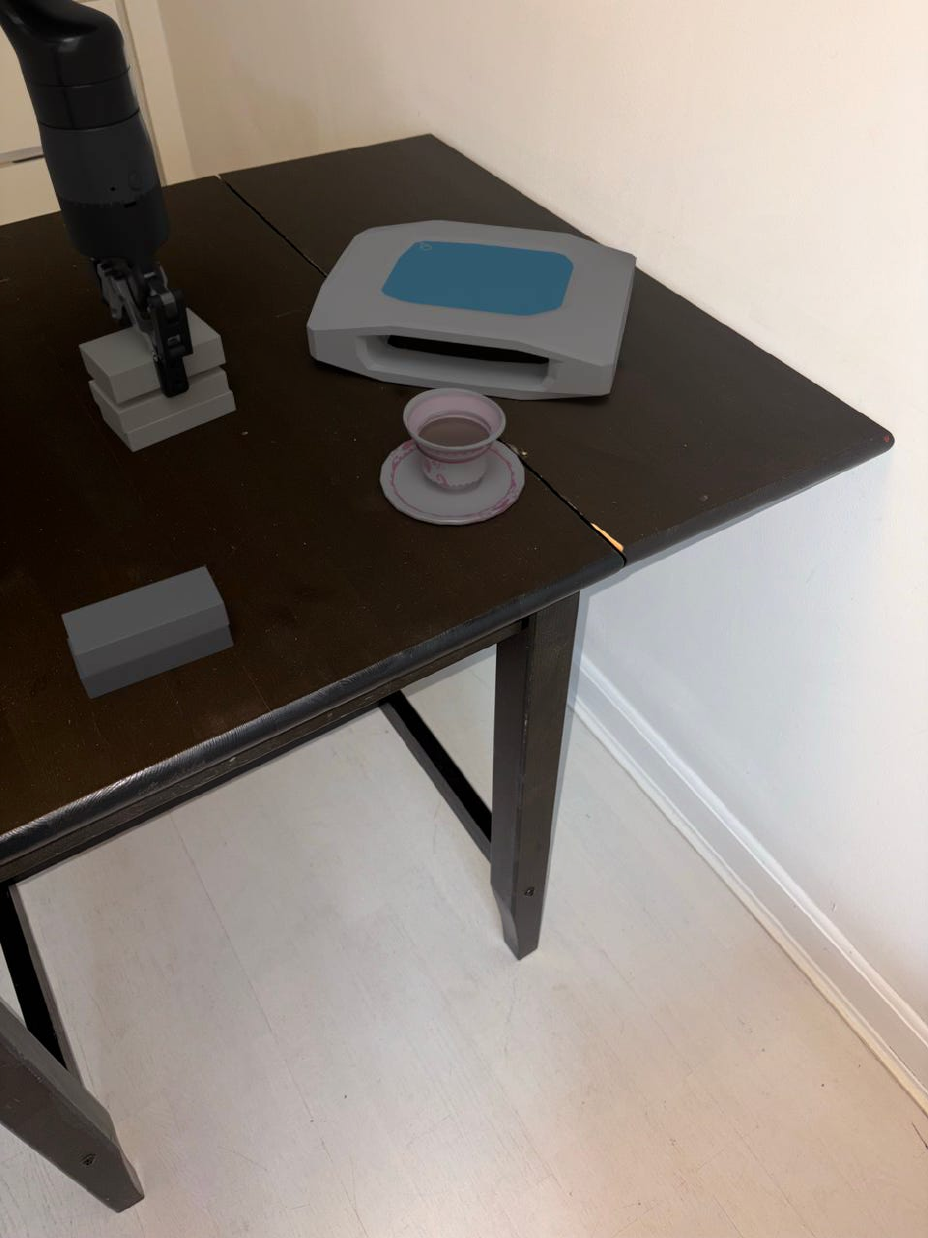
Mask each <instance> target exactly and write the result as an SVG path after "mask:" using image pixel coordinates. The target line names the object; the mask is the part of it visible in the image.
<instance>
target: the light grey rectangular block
mask: <svg viewBox="0 0 928 1238" xmlns="http://www.w3.org/2000/svg"><path fill="white" fill-rule="evenodd" d="M186 312H187V317H188V323H189V329H190V335H191V341H192V347H193V354H191V355H189V356H185V357H182V359H183V363H184V367H185V371H186V375H187V377H189V376H192V375H195V374H197V373H200V372H203V371H205V370H208V369H210V368H213V367H216V366H221V365H224V364H226V362H227V361H226V357H225V351H224V348H223V346H224V345H223V343H222V338H221V337H222V336H221V335H220V334H219V333H218V332H216V330H214V329H213V328H212V327H211V326H209V325H208V324H207V323H206V322H205V321H204V320H203V319H201V317H199V316H198V315H197V314H196V313H195V312H194V311H192V310H191V309H190V308H189V307H186ZM153 334H154V331H153ZM154 336H155V335H154ZM168 340H170V338H169V339H168ZM78 347H79V350H80V353H81V356H82V359H83V360H82V361H83V363H84V366H85V369H86V371H87V374H89V375H90V376H91V377H92V378H93V380H94V379H95V380H96V381H97V383H98V384H99V385H100V386H101V387H102V388H103V389H104V390H105V391H106V392H107V393H108V394H109V395H110V396H111V398H112V399H113V400H114V401H115V402H116V403H117V404H118V403H121V402H123V401H126V400H129V399H131V398H134V397H137V396H139V395H142V394H145V393H147V392H150V391H152V390H155V389H158V388H160V383H159V379H158V376H157V372H156V368H155V365H154V361H153V358H152V356H151V353H150V349H149V347H148V345H147V342H146V340H145V337H144V335H143V334H142V333H138V332H136V331H135V329H134V327H130V328H127V329H124V330H121V331H120V330H118V331H116V332H113V333H109V334H107V335H103V336H101V337H98V338H95V339H92V340H89V341H86V342H83V343H81V344H78Z"/></svg>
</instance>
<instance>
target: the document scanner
mask: <svg viewBox="0 0 928 1238" xmlns="http://www.w3.org/2000/svg"><path fill="white" fill-rule="evenodd" d="M637 259H638V258H637V257H636V256H635V255H634V254H633V253H631V252H627V251H624V250H621V249H617V248H615V247H611V246H608V245H605V244H601V243H598V242H596V241H593V240H589V239H586V238H583V237H580V236H577V235H574V234H572V233H567V232H557V231H549V230H541V229H539V230H538V229H530V228H522V227H513V226H503V225H493V224H482V223H473V222H462V221H453V220H445V219H432V220H423V221H416V222H408V223H400V224H399V223H398V224H392V225H391V224H390V225H383V226H382V225H381V226H375V227H370V228H368V229H365V230H363V231H362V232H360V233H358V234H356V235H354V236H353V238H352V239H351V241H350V242H349V244H348V245H347V247H346V248H345V250H344V251H343V253H342V254H341V256H340V257H339V259H338V260H337V262H336V263H335V265H334V266H333V268H332V269H331V271H330V273H329V274H328V275H327V277H326V278H325V280H324V281H323V283H322V285H321V286H320V289H319V292H318V294H317V297H316V299H315V302H314V305H313V307H312V310H311V313H310V316H309V318H308V320H307V324H306V332H307V339H308V345H309V346H308V347H309V353H310V356H312V357H313V358H314V359H315V360H317V361H320V362H323V363H325V364H329V365H332V366H335V367H338V368H341V369H344V370H347V371H349V372H350V371H351V372H352V373H357V374H359V375H362V376H365V377H369V378H372V379H374V380H377V381H381V382H386V383H393V384H400V385H408V386H414V387H421V388H422V387H423V388H429V389H430V388H431V389H439V388H459V389H465V390H470V391H473V392H476V393H479V394H482V395H484V396H492V397H497V398H506V399H513V400H520V401H528V400H529V401H532V400H534V401H535V400H549V399H551V400H552V399H565V398H566V399H567V398H569V399H570V398H585V397H598V396H599V397H600V396H601V397H602V396H605V395H608V394H610V392H611V390H612V386H613V383H614V379H615V374H616V370H617V366H618V361H619V356H620V352H621V347H622V344H623V343H622V342H623V339H624V334H625V329H626V323H627V318H628V314H629V308H630V303H631V299H632V293H633V287H634V280H635V273H636V265H637ZM391 336H399V337H407V338H416V339H424V340H431V341H432V340H433V341H439V342H449V343H455V344H464V345H472V346H480V347H488V348H495V349H497V348H498V349H504V350H513V351H518V352H522V353H527V354H530V355H536V356H538V357H543V358H547V359H548V362H544V363H529V362H514V361H513V362H512V361H499V360H497V361H496V360H485V359H484V360H483V359H477V358H467V357H461V356H452V355H445V354H438V353H432V352H427V351H426V352H424V351H419V350H414V349H413V350H412V349H407V348H400V347H395V346H393V345H391V344H389V343H388V341H389V339H390V337H391Z"/></svg>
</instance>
